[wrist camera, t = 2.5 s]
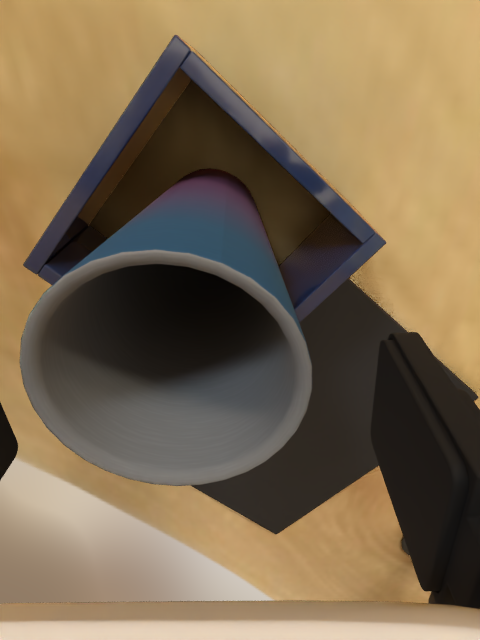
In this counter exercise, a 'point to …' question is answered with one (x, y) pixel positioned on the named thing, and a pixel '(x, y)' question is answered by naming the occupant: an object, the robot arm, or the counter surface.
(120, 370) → the cup
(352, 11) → the counter surface
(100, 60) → the counter surface
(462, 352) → the counter surface
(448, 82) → the counter surface
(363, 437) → the mat
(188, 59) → the holder
